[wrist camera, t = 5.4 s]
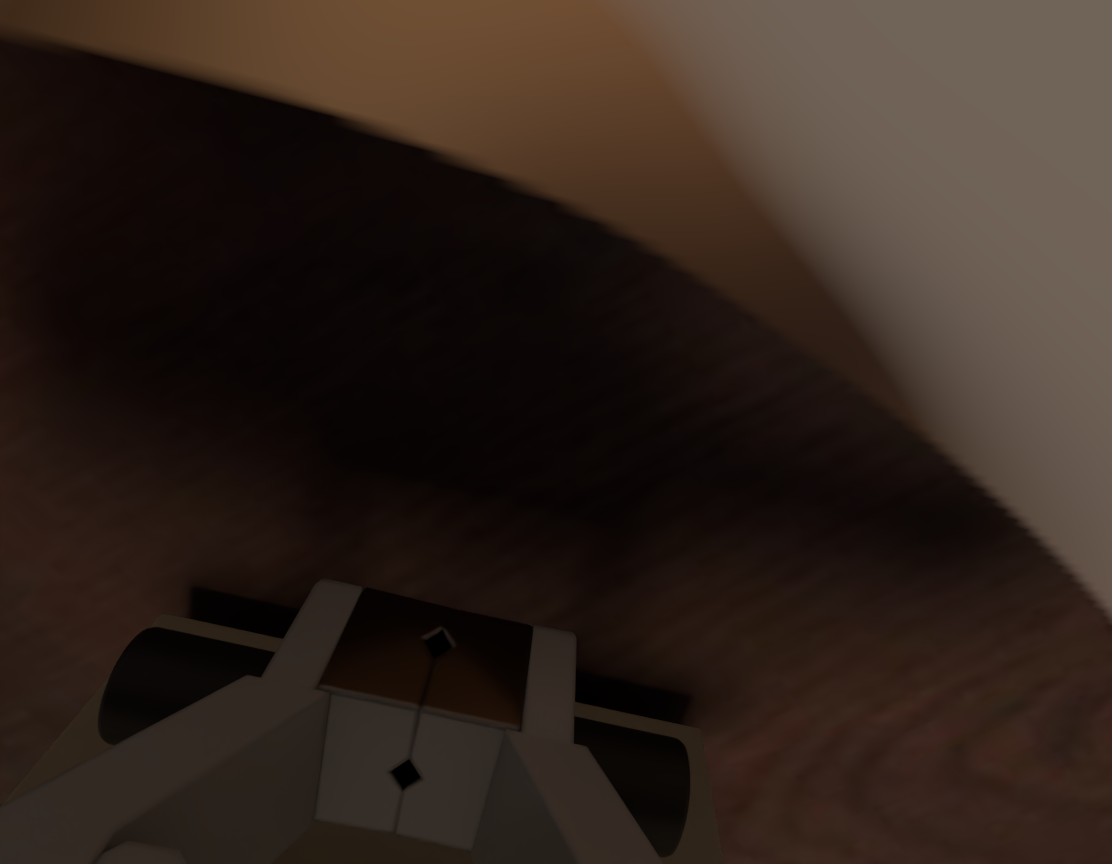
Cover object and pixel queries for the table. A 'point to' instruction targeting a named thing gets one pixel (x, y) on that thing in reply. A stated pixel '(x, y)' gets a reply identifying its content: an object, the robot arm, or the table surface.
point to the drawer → (386, 859)
